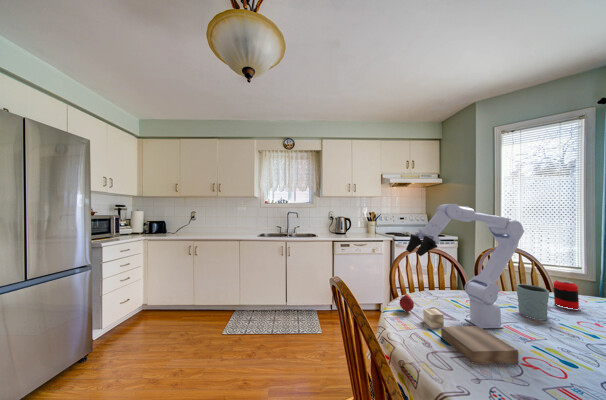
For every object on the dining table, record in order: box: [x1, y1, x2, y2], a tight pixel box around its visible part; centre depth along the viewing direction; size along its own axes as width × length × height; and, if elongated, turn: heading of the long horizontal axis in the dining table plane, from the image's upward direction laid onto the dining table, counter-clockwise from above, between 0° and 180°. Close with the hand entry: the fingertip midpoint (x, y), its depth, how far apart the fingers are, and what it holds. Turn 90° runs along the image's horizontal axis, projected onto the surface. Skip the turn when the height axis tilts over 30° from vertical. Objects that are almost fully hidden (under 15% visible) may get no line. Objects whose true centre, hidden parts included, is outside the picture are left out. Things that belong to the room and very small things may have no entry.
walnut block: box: [440, 325, 520, 365], centre depth 73 cm, size 14×14×4 cm
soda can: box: [552, 279, 580, 309], centre depth 106 cm, size 8×8×12 cm
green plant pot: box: [515, 283, 550, 320], centre depth 97 cm, size 10×10×12 cm
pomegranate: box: [399, 293, 415, 313], centre depth 99 cm, size 6×6×8 cm
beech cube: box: [422, 308, 445, 329], centre depth 88 cm, size 5×5×5 cm
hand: (413, 252), depth 89 cm, fingers open, 7 cm apart
